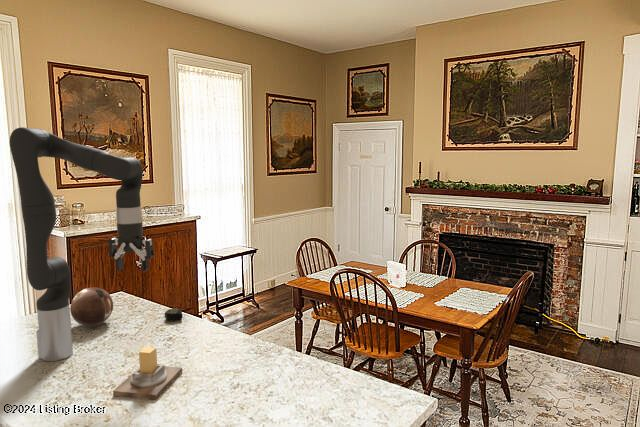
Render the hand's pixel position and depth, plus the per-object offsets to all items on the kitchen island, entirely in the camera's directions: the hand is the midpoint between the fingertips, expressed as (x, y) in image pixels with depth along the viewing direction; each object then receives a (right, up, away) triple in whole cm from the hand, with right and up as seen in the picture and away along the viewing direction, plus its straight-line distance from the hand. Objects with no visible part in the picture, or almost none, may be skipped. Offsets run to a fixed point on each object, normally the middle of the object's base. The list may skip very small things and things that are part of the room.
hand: (132, 270), depth 147 cm
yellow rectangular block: (+10, -30, -11) cm, 33 cm away
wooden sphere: (-29, -26, +33) cm, 51 cm away
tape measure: (+1, -25, +40) cm, 47 cm away
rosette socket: (+10, -32, -11) cm, 35 cm away
